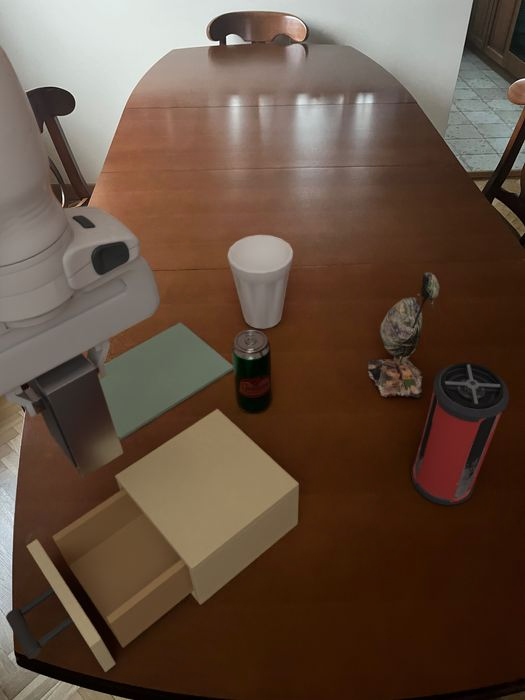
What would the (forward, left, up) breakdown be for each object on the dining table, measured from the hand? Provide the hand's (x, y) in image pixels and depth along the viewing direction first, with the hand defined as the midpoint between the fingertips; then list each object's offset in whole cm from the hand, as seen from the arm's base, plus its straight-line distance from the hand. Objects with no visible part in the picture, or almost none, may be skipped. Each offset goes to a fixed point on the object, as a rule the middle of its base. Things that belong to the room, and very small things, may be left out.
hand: (66, 392), depth 53 cm
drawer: (-5, -6, -25) cm, 26 cm away
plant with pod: (+44, -5, -26) cm, 51 cm away
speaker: (+34, -21, -26) cm, 48 cm away
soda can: (+25, +5, -26) cm, 36 cm away
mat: (+17, +19, -26) cm, 36 cm away
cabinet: (+9, -6, -26) cm, 28 cm away
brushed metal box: (0, 0, -8) cm, 8 cm away
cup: (+38, +18, -26) cm, 50 cm away
